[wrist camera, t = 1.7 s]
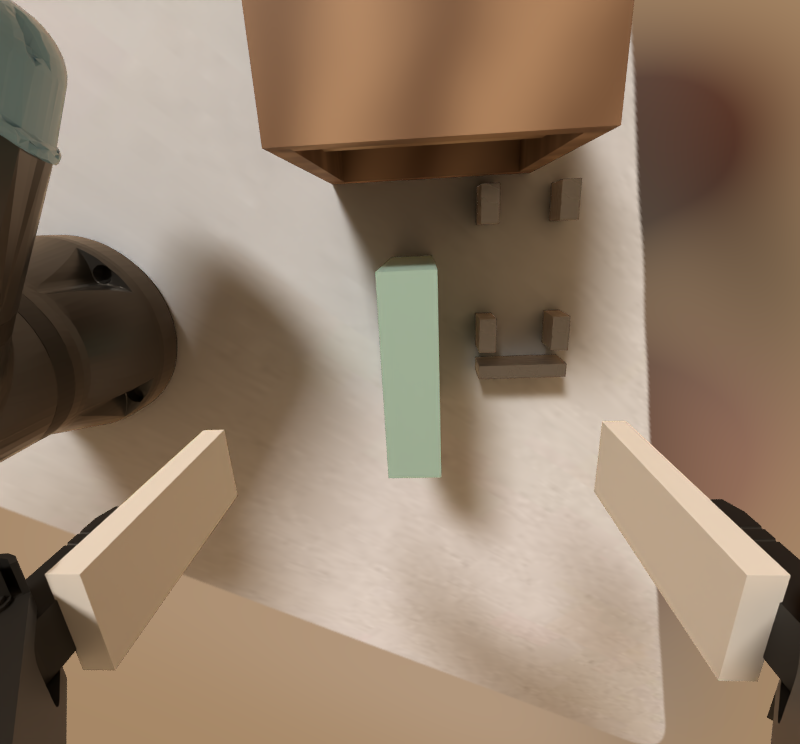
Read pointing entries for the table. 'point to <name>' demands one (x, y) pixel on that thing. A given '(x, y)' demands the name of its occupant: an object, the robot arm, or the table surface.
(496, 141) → the cabinet
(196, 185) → the table surface
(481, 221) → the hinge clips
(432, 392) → the door
